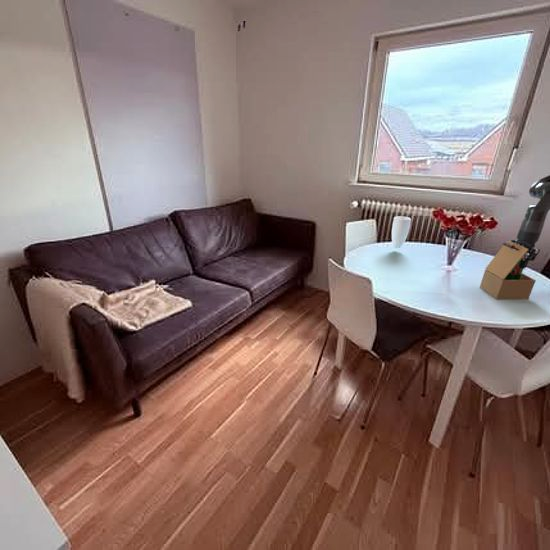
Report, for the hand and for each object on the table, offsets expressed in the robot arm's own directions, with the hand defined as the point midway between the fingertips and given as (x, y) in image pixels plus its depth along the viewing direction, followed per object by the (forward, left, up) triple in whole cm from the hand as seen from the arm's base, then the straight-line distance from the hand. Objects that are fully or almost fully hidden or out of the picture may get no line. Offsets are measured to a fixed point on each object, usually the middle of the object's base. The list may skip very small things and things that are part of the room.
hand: (517, 265), depth 141 cm
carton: (+2, +1, -14) cm, 14 cm away
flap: (+6, +2, +3) cm, 7 cm away
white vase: (+49, -42, -14) cm, 66 cm away
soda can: (0, 0, -8) cm, 8 cm away
